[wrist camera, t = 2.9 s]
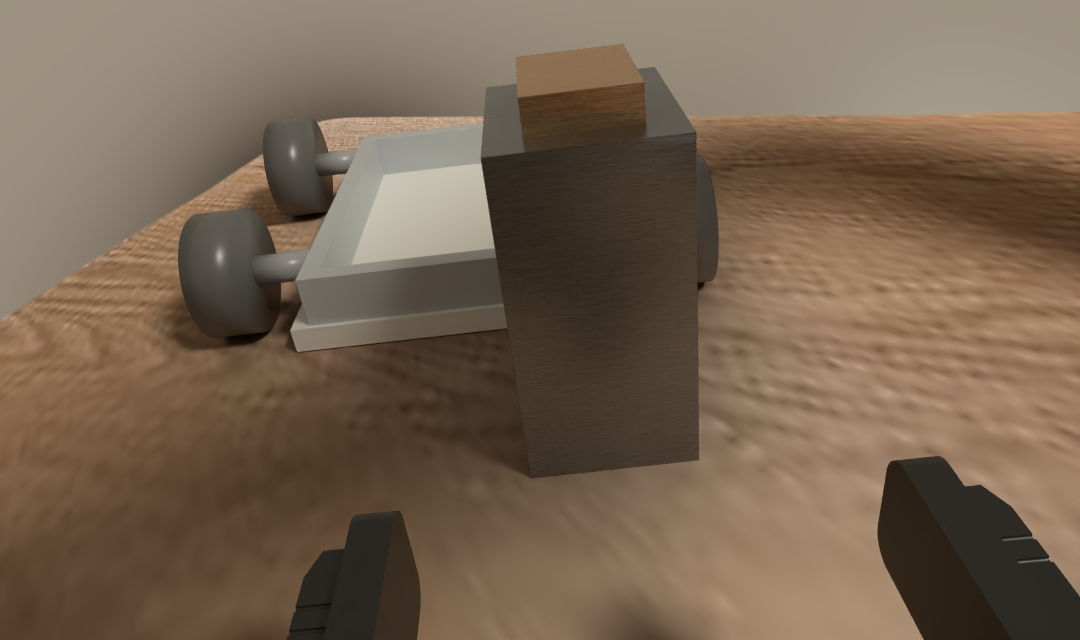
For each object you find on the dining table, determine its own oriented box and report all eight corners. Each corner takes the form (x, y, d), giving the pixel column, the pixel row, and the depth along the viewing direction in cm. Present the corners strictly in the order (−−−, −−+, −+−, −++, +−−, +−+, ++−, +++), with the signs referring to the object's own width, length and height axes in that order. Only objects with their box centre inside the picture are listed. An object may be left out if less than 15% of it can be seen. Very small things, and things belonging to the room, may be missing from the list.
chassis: (650, 153, 45) (646, 64, 42) (718, 304, 31) (718, 182, 28) (304, 195, 46) (279, 109, 43) (209, 362, 31) (163, 248, 28)
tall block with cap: (664, 348, 28) (653, 31, 23) (699, 460, 23) (695, 88, 18) (526, 363, 29) (481, 52, 23) (530, 478, 24) (473, 115, 18)
